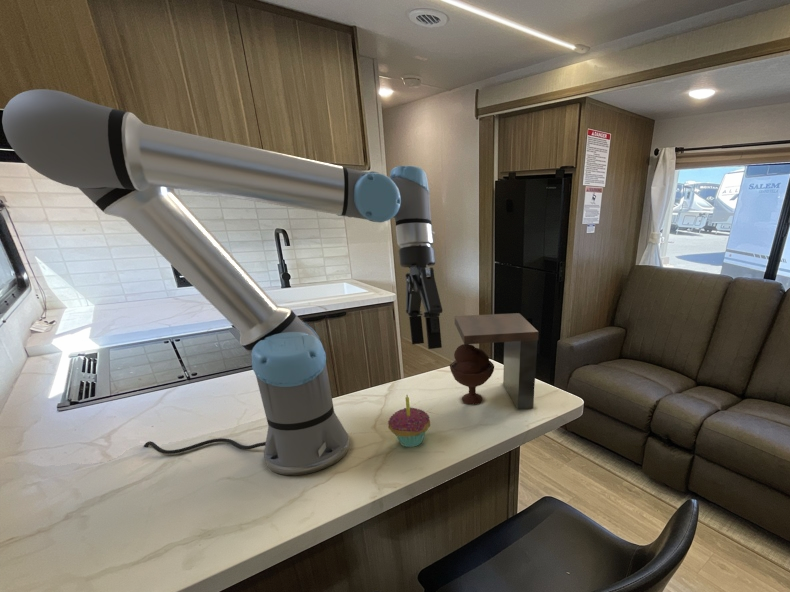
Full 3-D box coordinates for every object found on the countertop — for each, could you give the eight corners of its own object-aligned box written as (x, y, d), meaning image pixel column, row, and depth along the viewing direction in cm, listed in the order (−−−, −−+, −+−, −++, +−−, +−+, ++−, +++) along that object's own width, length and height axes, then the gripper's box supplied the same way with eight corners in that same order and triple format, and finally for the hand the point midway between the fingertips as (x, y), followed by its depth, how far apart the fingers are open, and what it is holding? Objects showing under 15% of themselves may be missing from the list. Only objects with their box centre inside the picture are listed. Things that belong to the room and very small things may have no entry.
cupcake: (433, 449, 82) (430, 397, 77) (390, 455, 80) (384, 402, 75) (428, 427, 90) (425, 379, 85) (389, 432, 88) (384, 383, 83)
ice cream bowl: (475, 414, 96) (475, 355, 90) (442, 400, 102) (439, 345, 96) (502, 398, 104) (503, 343, 97) (469, 386, 110) (468, 334, 104)
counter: (465, 416, 95) (464, 335, 87) (456, 387, 109) (454, 316, 101) (533, 409, 99) (538, 331, 91) (516, 382, 113) (519, 313, 105)
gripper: (452, 237, 76) (461, 348, 80) (418, 254, 98) (426, 340, 102) (413, 237, 73) (425, 352, 77) (387, 254, 95) (397, 343, 99)
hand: (426, 346), depth 90 cm, fingers open, 13 cm apart
